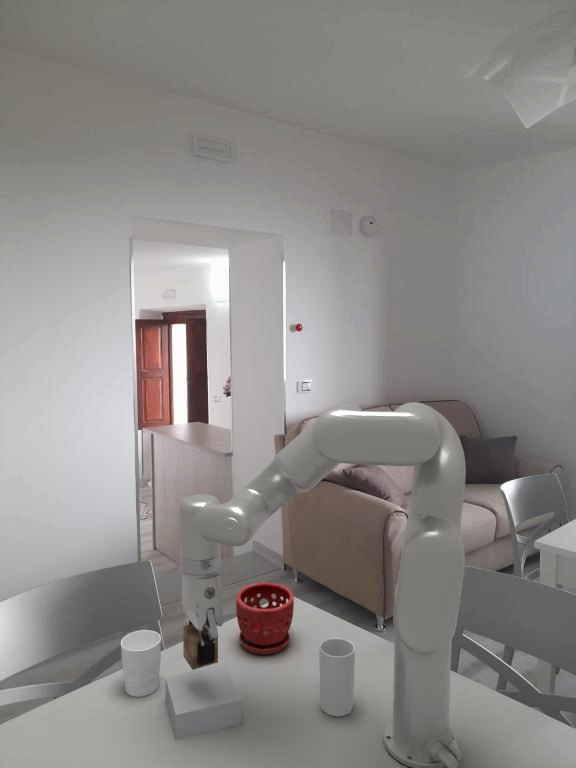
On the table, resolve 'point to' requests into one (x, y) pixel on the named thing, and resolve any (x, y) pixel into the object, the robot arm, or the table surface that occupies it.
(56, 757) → the table surface
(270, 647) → the plant pot
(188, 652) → the walnut block
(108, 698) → the table surface
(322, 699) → the mug
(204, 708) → the grey block
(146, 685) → the white cup
